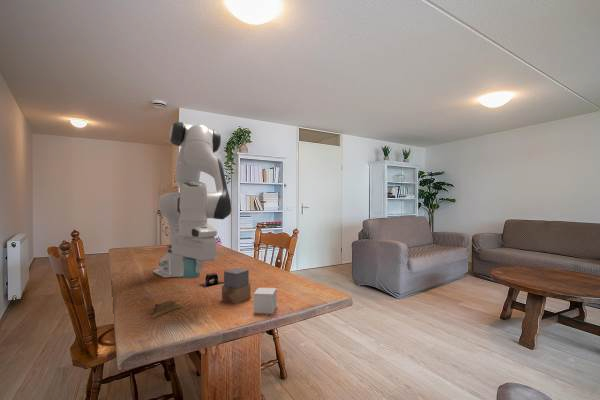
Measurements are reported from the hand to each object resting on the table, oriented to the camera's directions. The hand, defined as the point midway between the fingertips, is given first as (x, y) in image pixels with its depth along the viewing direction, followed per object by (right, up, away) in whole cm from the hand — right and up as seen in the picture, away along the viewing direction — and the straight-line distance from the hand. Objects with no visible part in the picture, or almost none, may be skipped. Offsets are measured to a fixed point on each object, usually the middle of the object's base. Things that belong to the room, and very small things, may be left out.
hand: (191, 270), depth 92 cm
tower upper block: (+14, -6, +5) cm, 16 cm away
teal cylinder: (0, -2, 0) cm, 2 cm away
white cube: (+25, -11, -5) cm, 28 cm away
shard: (-6, -12, -5) cm, 14 cm away
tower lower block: (+14, -11, +5) cm, 19 cm away
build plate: (-1, -12, +23) cm, 26 cm away
